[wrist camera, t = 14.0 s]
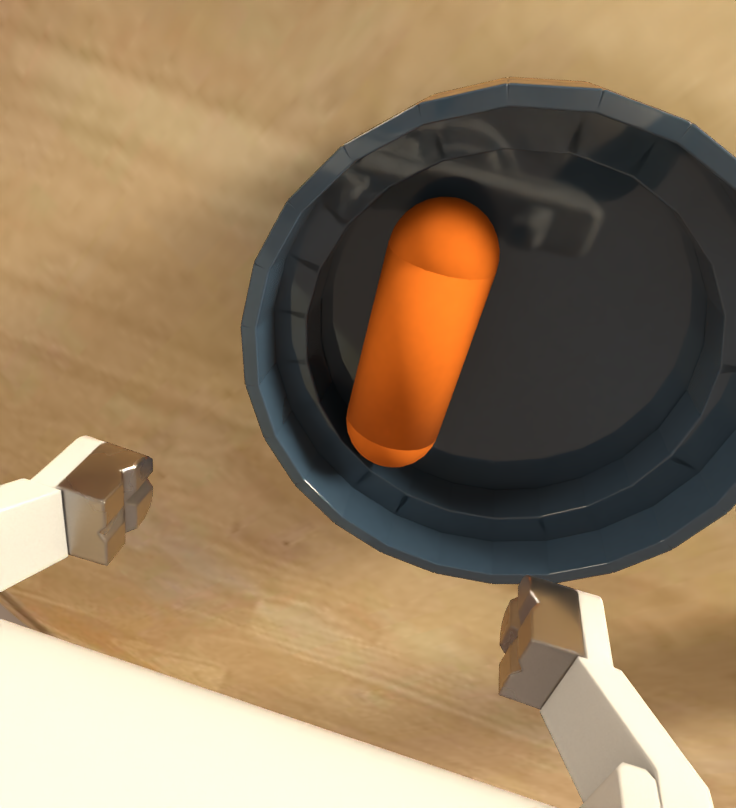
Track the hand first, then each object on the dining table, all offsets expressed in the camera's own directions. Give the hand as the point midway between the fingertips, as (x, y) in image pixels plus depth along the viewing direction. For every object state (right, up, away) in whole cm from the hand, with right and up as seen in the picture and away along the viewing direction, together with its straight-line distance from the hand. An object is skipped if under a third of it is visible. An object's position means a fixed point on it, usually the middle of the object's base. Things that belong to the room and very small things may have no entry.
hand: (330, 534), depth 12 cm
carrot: (+3, +6, +12) cm, 14 cm away
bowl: (+6, +6, +13) cm, 15 cm away
